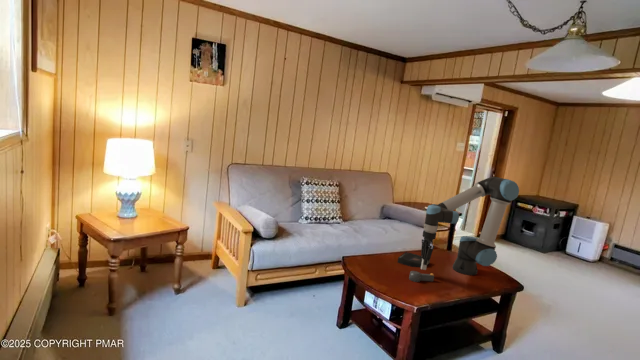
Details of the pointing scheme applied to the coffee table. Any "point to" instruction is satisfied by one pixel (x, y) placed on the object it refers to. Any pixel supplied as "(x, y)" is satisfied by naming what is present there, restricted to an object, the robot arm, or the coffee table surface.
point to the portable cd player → (411, 260)
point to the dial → (420, 276)
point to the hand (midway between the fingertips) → (423, 269)
